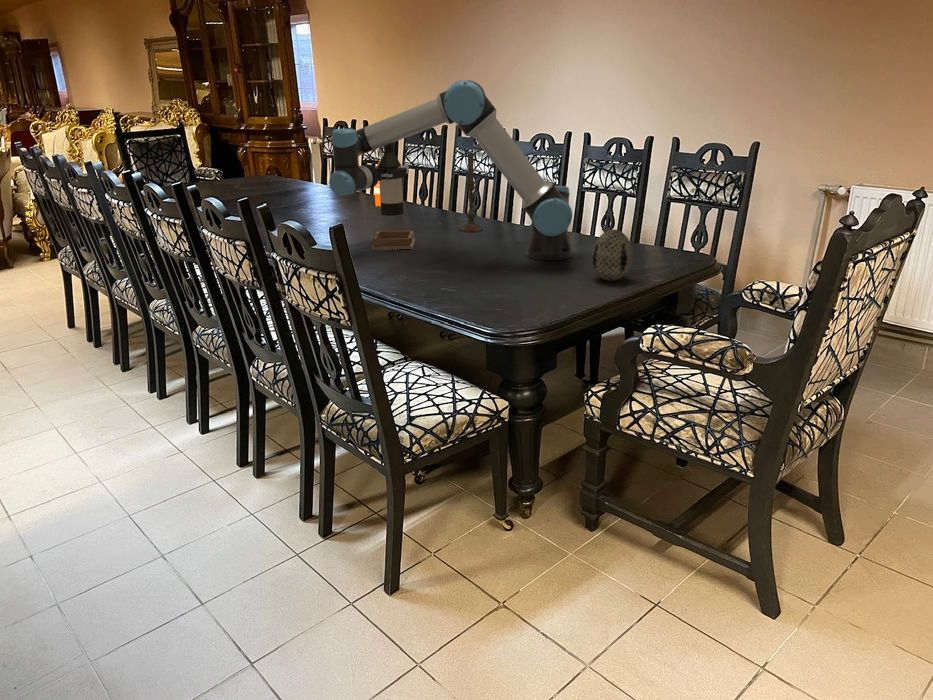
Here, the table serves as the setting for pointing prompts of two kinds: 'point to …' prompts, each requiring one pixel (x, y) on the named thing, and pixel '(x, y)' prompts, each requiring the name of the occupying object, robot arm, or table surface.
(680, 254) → the table surface
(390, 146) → the wine bottle
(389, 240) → the wooden crate
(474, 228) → the candlestick holder
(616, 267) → the decorative egg
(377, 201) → the orange juice
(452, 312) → the table surface
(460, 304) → the table surface
